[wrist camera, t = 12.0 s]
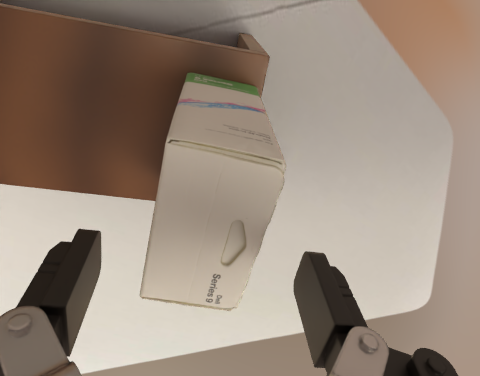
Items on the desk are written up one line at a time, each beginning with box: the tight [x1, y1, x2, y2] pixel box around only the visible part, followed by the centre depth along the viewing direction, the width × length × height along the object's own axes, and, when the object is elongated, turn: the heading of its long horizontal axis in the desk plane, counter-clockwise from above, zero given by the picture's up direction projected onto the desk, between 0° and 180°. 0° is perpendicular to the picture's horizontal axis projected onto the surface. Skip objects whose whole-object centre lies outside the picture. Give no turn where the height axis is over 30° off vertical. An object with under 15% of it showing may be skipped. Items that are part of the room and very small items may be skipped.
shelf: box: [0, 3, 270, 201], centre depth 26 cm, size 22×12×15 cm, turn 79°
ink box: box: [140, 73, 286, 311], centre depth 20 cm, size 9×5×12 cm, turn 166°
